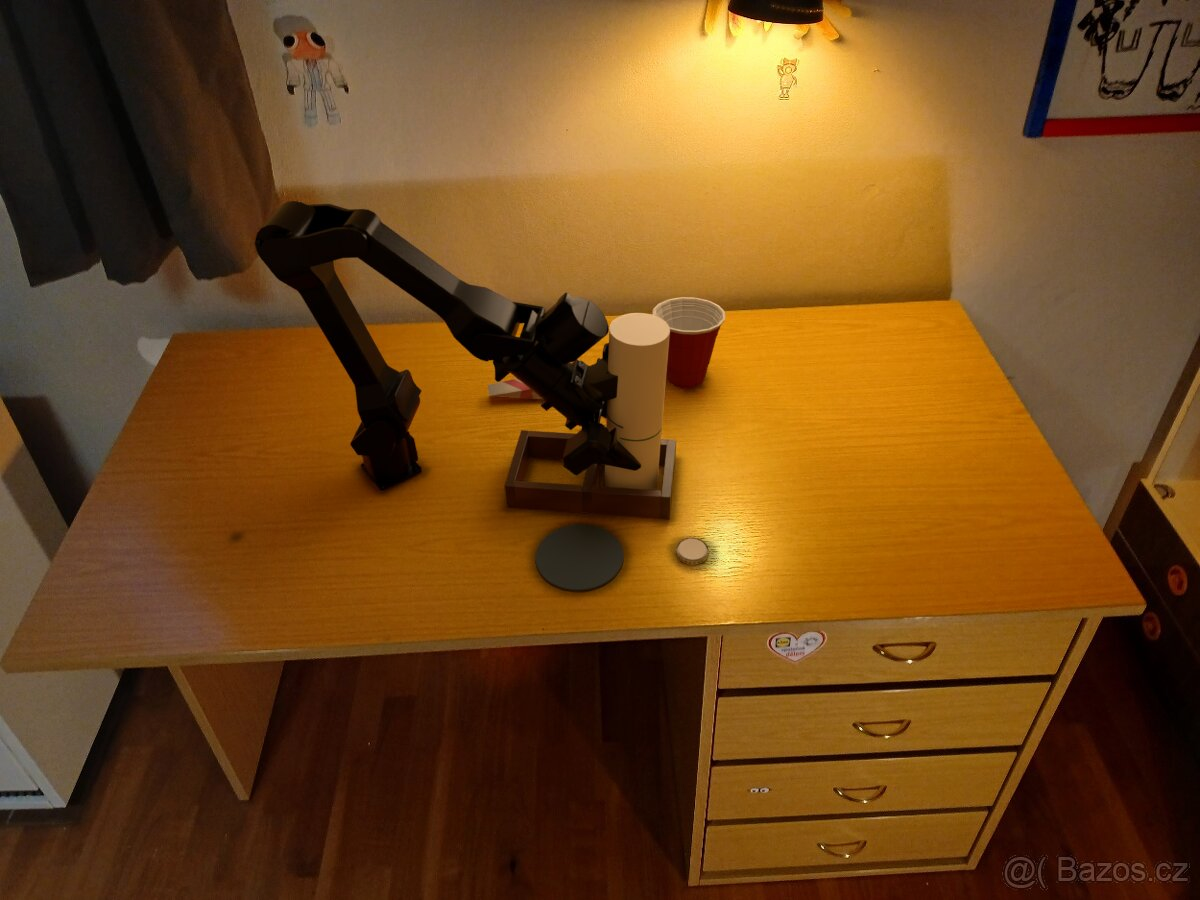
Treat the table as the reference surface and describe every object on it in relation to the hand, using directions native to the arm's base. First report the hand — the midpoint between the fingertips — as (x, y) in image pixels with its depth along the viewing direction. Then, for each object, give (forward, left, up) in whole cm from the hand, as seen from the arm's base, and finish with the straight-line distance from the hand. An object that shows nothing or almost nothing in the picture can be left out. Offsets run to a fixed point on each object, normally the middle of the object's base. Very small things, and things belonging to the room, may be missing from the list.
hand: (641, 450), depth 119 cm
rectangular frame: (-5, +5, -7) cm, 9 cm away
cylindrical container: (-1, +1, -7) cm, 7 cm away
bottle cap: (-3, -13, -7) cm, 15 cm away
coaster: (-14, -5, -7) cm, 16 cm away
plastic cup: (+21, +15, -7) cm, 27 cm away
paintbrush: (+3, +25, -7) cm, 26 cm away
